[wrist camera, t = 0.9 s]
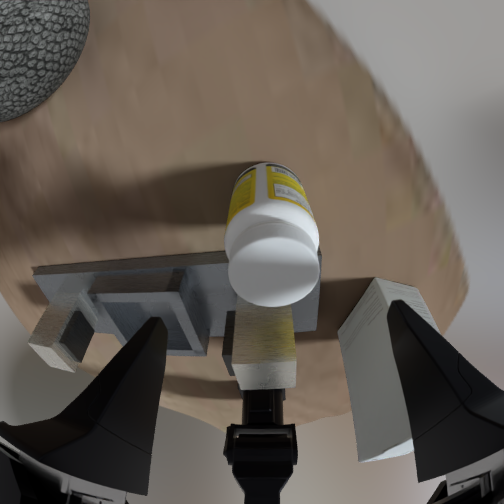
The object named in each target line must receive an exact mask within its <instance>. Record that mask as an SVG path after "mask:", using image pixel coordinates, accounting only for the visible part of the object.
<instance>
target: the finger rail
mask: <svg viewBox="0 0 504 504" xmlns="http://www.w3.org/2000/svg"><path fill="white" fill-rule="evenodd" d="M317 256H318V261H319V267H320V272H319V278H318V281H317V283H316V285H315V287H314V288H313V289H312V291H311V292H310V293H308V294H307V295H306V296H305V297H304V298H302V299H300V300H299V301H297V302H294V303H292V304H289V305H285V306H279V307H266V306H259V305H256V304H253V303H250V302H248V301H246V300H245V299H243V298H242V297H240V296H239V295H238V294H237V293H236V292H235V291H234V289H233V288H232V286H231V284H230V281H229V277H228V266H229V259H228V257H227V254H226V251H221V252H209V253H197V254H185V255H172V256H160V257H148V258H136V259H124V260H112V261H101V262H89V263H77V264H65V265H54V266H42V267H38V269H37V270H36V271H35V273H34V274H33V275H32V276H33V277H34V279H35V281H36V282H37V284H38V285H39V287H40V288H41V290H42V292H43V293H44V295H45V296H46V298H47V299H48V300H49V302H50V303H49V305H48V306H47V308H46V310H45V311H44V313H43V315H42V317H41V318H40V320H39V322H38V324H37V325H36V327H35V329H34V331H33V333H32V335H31V336H30V338H29V340H28V342H27V343H28V344H29V345H30V346H31V347H32V348H33V349H34V351H35V352H36V353H37V354H38V355H39V356H40V357H41V358H42V359H43V360H44V361H45V362H46V363H47V364H48V365H49V366H50V367H54V368H58V369H62V370H66V371H70V372H74V373H75V372H76V369H77V367H78V364H79V362H80V363H81V362H82V360H83V357H84V355H85V353H86V350H87V348H88V345H89V343H90V341H91V338H92V336H93V334H94V332H96V333H109V334H114V335H115V336H116V338H117V339H118V340H119V342H120V343H121V344H122V346H124V345H125V344H126V343H127V342H128V341H129V340H130V339H131V337H132V336H133V335H134V334H135V333H136V332H137V331H138V330H139V329H140V328H141V327H142V325H143V324H144V323H145V322H146V321H147V320H148V319H149V318H150V317H161V318H162V320H163V322H164V324H165V326H166V328H167V330H168V341H167V353H166V355H172V356H207V349H208V343H209V337H211V336H224V341H223V350H222V357H223V360H224V362H225V365H226V367H227V370H228V372H229V375H230V376H236V378H237V381H238V383H239V386H240V389H241V390H259V389H280V388H294V387H296V351H295V340H294V332H305V331H316V328H317V317H318V305H319V293H320V278H321V261H322V255H321V251H320V248H319V245H318V250H317Z"/></svg>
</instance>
